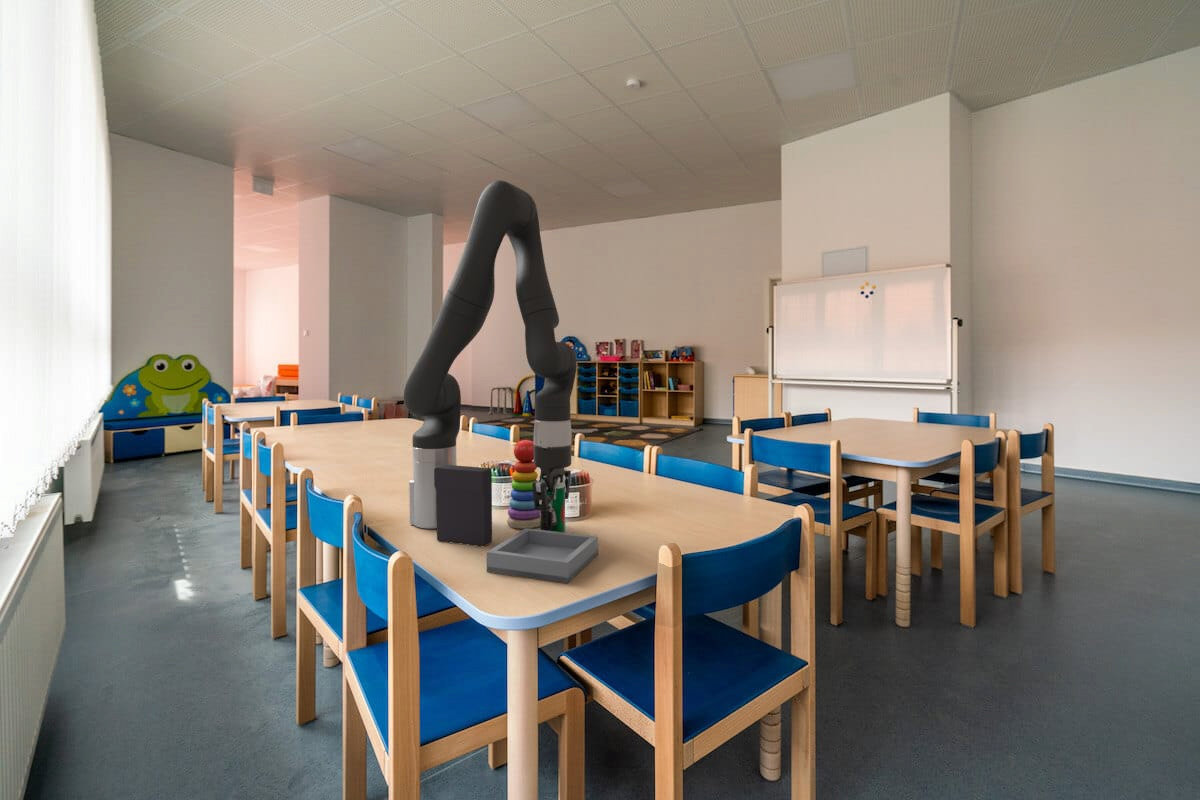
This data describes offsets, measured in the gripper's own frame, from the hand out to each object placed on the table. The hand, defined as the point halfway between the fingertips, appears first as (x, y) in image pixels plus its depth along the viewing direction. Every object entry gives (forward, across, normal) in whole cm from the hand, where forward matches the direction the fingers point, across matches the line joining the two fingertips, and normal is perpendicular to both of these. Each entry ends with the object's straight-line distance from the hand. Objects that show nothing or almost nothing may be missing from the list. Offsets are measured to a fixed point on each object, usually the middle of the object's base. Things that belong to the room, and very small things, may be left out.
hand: (552, 525), depth 118 cm
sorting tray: (+3, +12, +4) cm, 13 cm away
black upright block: (+3, +7, -16) cm, 18 cm away
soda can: (+3, 0, 0) cm, 3 cm away
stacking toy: (+3, -8, -10) cm, 13 cm away
